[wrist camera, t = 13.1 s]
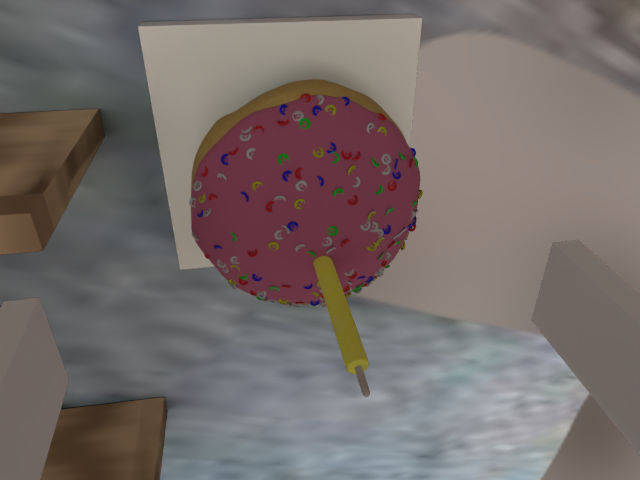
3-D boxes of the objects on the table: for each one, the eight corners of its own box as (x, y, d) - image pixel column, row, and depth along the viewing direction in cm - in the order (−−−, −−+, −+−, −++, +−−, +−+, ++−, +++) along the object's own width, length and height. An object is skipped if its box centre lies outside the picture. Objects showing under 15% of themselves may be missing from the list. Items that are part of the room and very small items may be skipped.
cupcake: (389, 218, 26) (513, 408, 16) (218, 259, 25) (232, 486, 15) (371, 36, 21) (531, 138, 11) (161, 80, 20) (126, 232, 10)
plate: (181, 258, 26) (180, 269, 25) (141, 22, 20) (138, 26, 20) (395, 239, 28) (400, 249, 27) (414, 14, 22) (422, 18, 21)
